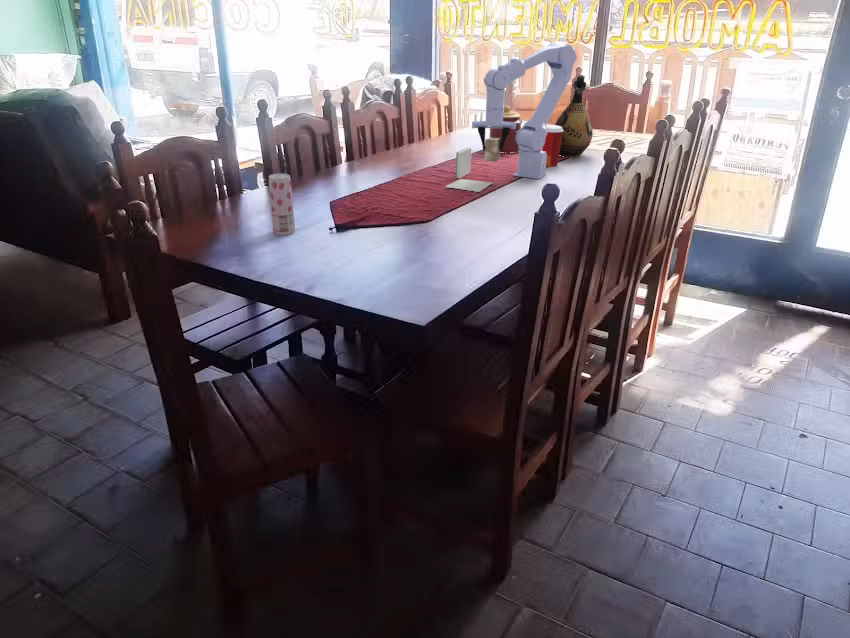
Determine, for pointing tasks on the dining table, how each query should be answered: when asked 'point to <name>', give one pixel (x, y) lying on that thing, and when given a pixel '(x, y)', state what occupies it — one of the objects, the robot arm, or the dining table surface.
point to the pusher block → (492, 149)
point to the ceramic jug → (575, 124)
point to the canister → (510, 141)
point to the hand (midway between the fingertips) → (492, 150)
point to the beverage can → (281, 204)
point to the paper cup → (552, 144)
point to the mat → (469, 185)
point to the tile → (463, 162)
